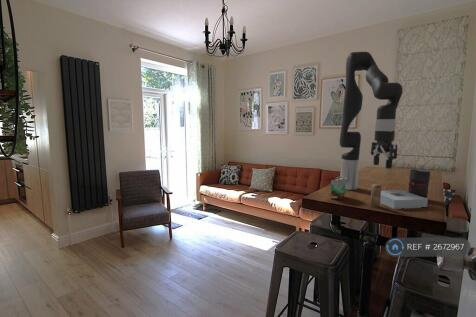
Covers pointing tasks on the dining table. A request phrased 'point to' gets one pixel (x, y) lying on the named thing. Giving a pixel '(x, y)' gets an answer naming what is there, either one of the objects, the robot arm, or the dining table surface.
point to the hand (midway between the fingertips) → (382, 166)
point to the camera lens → (419, 182)
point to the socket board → (402, 199)
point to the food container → (338, 188)
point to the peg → (376, 196)
